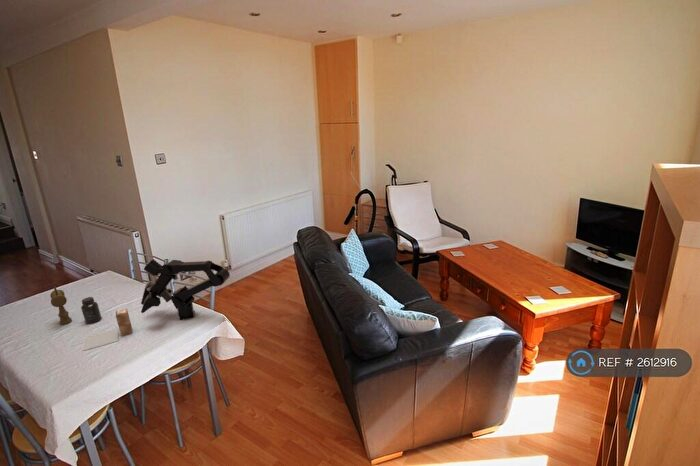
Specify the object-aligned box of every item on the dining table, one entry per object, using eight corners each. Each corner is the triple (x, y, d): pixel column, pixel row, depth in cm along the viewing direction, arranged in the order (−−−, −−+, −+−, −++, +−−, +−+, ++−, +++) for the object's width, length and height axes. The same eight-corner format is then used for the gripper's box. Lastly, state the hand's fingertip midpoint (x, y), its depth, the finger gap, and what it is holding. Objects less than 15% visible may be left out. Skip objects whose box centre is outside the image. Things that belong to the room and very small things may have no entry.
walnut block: (132, 328, 175) (126, 308, 171) (132, 333, 171) (126, 312, 167) (121, 331, 173) (115, 310, 169) (121, 336, 169) (115, 315, 165)
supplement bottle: (105, 316, 186) (99, 295, 182) (94, 324, 179) (88, 302, 176) (92, 316, 187) (86, 295, 183) (82, 324, 180) (75, 302, 176)
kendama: (59, 328, 177) (47, 291, 170) (57, 320, 184) (45, 284, 177) (74, 323, 181) (62, 287, 174) (72, 316, 187) (61, 281, 181)
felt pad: (118, 328, 175) (118, 328, 175) (118, 341, 165) (117, 340, 165) (85, 337, 169) (85, 336, 169) (83, 351, 159) (83, 350, 159)
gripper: (178, 297, 175) (158, 324, 174) (175, 282, 190) (156, 307, 189) (157, 286, 169) (135, 314, 167) (155, 272, 184) (135, 297, 183)
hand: (141, 308), depth 177 cm, fingers open, 9 cm apart
